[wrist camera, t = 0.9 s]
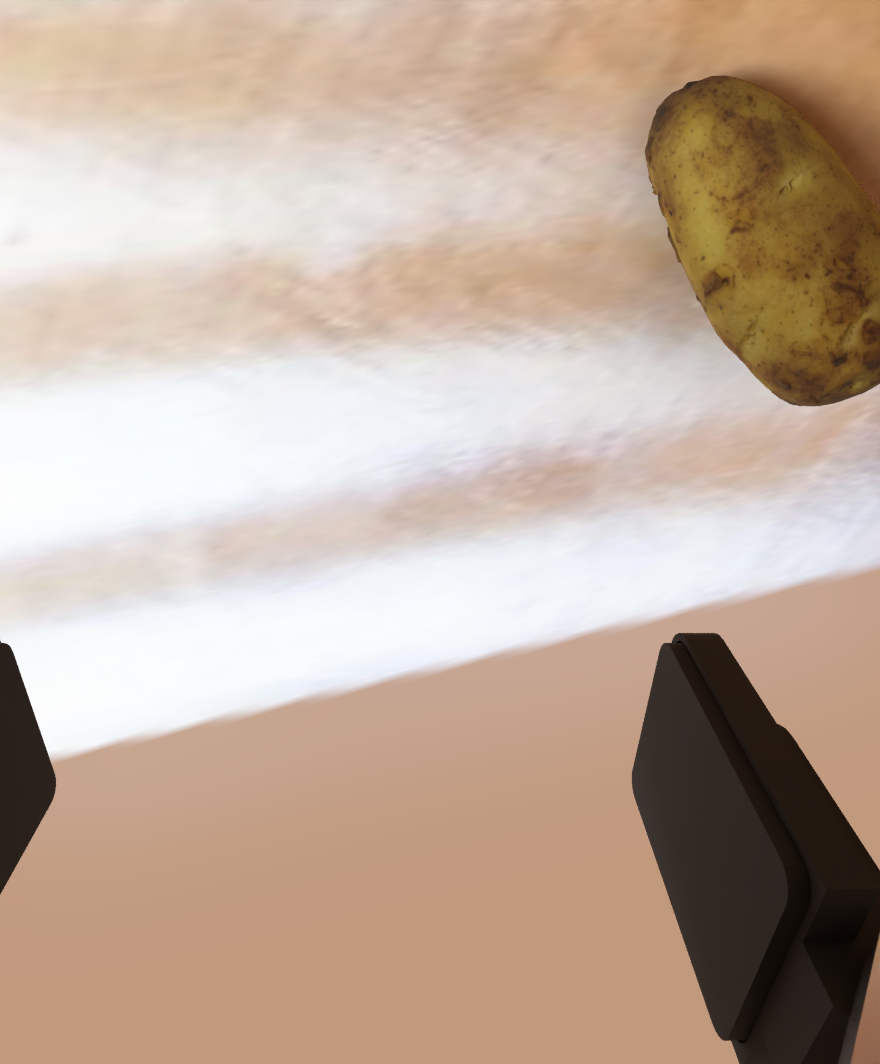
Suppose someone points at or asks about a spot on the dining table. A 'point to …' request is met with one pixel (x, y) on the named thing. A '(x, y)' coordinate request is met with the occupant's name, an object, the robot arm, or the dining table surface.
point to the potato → (771, 237)
